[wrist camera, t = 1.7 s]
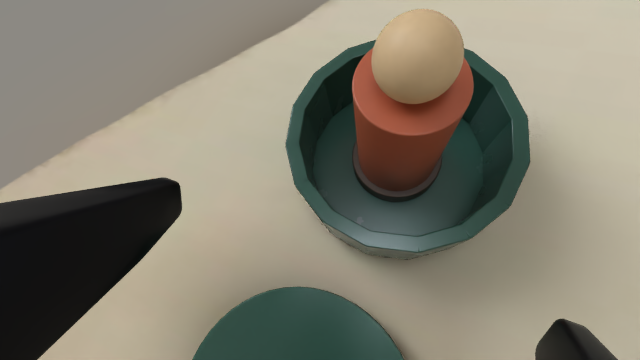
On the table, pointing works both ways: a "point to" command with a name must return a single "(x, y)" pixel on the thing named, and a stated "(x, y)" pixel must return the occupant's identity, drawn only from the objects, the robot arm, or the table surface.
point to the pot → (447, 189)
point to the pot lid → (297, 329)
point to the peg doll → (408, 104)
